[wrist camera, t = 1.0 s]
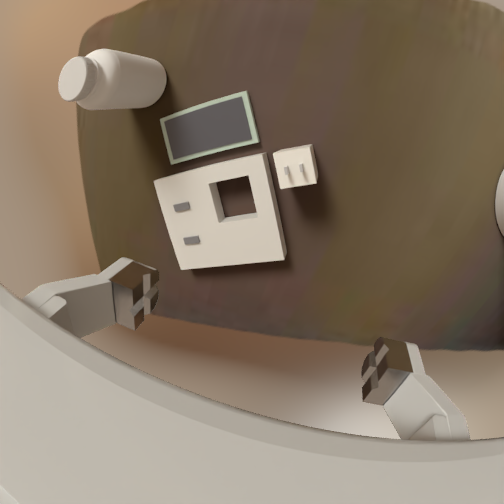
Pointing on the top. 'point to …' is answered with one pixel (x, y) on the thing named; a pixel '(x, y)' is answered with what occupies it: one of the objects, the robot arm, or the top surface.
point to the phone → (210, 128)
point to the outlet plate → (221, 216)
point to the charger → (296, 166)
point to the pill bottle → (112, 80)
